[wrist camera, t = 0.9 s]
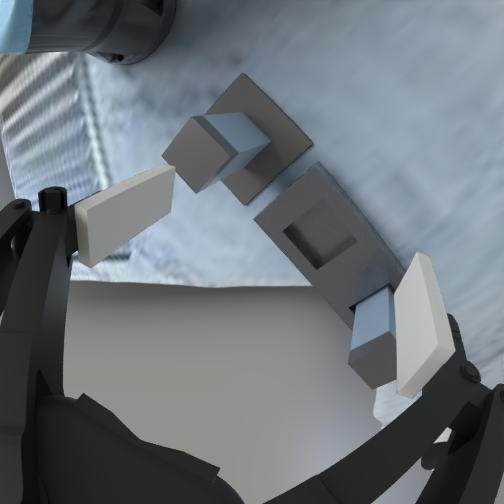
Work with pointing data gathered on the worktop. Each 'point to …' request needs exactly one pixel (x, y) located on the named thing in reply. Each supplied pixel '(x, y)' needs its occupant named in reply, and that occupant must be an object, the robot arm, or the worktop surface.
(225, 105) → the mat
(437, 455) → the medicine bottle
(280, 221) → the strip
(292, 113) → the worktop surface
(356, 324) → the twin plug
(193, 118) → the plug
